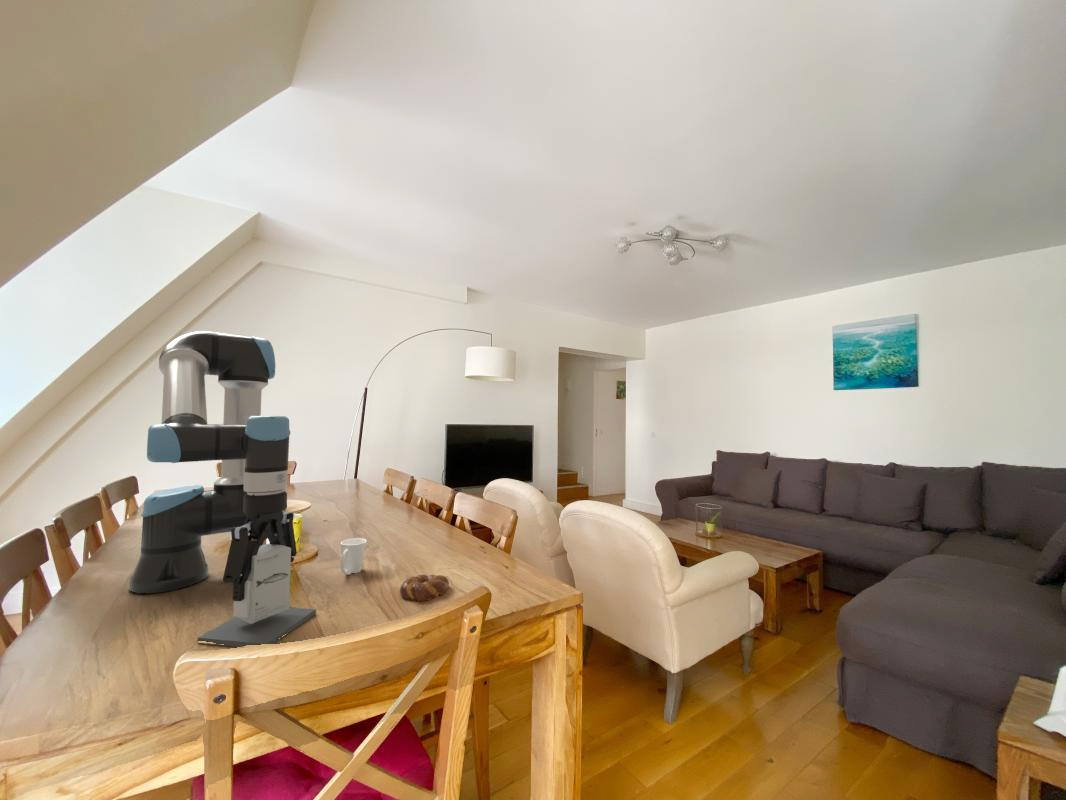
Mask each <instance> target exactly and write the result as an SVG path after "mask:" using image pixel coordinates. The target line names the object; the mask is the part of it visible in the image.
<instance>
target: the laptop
mask: <svg viewBox="0 0 1066 800" xmlns="http://www.w3.org/2000/svg"><path fill="white" fill-rule="evenodd" d="M316 613H317V609H316V608H307V607H306V608H304V607H293V606H289V609H288V610H286V611H283V612H280V613H277V614H275V615H272V616H270V617H267V618H264V619H262V620H259V621H257V622H255V623H253V624H250V623H248V622H246V621H244V620H242V619H240V618H238V617H234V616H233V617H232V618H230V619H229V620H227V621H225V622H223V623H222V624H220V625H218V626H216V627H214V628H213V629H210V630H209V631H207V632H205V633H204V634H202V635H200V636H198V637H197V642H198V641H206V642H213V643H216V644H224V645H226V646H227V647H232V648H233V647H235V648H240V647H239V646H246V645H261V644H273V643H274V644H276V643H277V642H279V641H280V640H279V638H281V637H282V636H283V635H285V634H287V633H288V634H290V633H291V632H293V631H294V630H296V627H297V628H298V627H300V626H301V625H302V624H304V623H305V622H306V621H308V620H309V619H311V618H312V617H314V616H315V615H316ZM303 622H304V623H303ZM299 625H300V626H299ZM293 629H294V630H293ZM292 630H293V631H292ZM290 631H291V632H290ZM289 632H290V633H289ZM288 634H287V635H288ZM281 639H282V638H281ZM278 640H279V641H278ZM274 644H273V645H274ZM224 645H222V646H224ZM226 646H224V647H226Z"/></svg>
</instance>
